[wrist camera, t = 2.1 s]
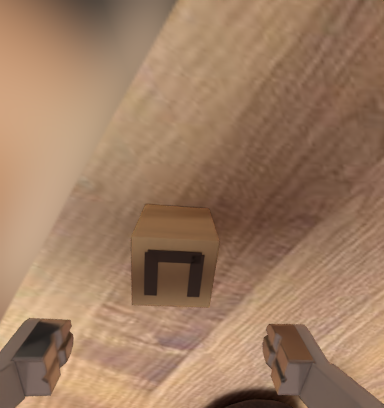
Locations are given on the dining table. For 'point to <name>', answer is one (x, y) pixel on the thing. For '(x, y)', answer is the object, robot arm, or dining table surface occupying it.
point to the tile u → (173, 256)
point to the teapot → (259, 404)
